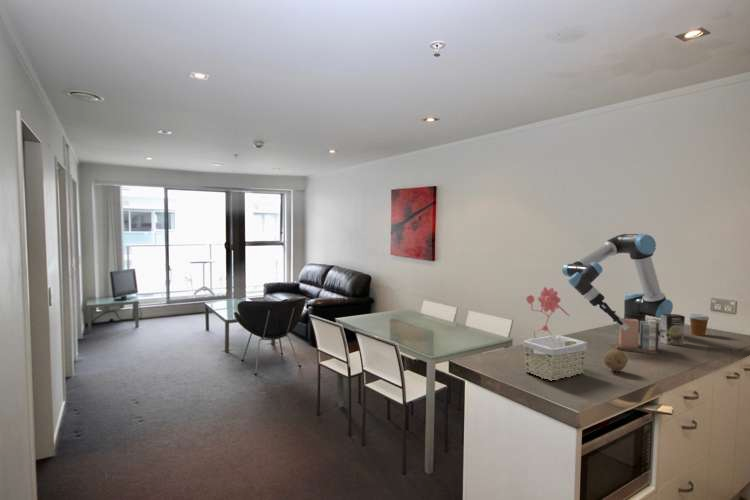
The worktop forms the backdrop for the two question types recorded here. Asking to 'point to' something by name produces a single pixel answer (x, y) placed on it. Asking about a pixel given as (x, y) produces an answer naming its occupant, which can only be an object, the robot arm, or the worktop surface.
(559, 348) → the storage basket
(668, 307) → the robot arm
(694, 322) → the disposable coffee cup
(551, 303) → the figurine
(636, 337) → the terracotta book
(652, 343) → the book rack
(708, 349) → the worktop surface
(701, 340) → the worktop surface
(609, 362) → the natural sponge
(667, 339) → the coffee box
